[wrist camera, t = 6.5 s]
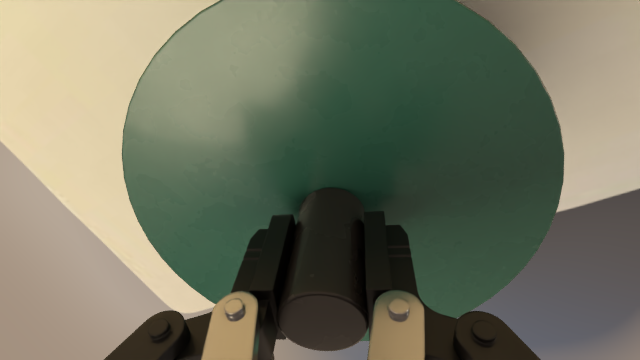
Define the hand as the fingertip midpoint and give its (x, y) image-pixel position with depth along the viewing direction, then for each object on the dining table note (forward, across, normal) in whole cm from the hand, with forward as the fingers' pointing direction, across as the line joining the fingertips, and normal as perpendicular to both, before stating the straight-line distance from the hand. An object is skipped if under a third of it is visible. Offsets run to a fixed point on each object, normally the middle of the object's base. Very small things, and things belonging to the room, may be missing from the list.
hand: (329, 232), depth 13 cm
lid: (+2, 0, 0) cm, 2 cm away
